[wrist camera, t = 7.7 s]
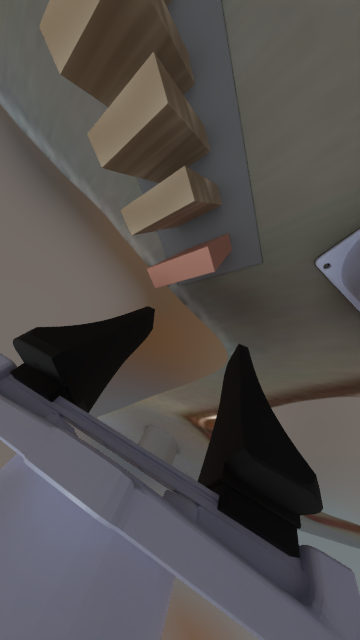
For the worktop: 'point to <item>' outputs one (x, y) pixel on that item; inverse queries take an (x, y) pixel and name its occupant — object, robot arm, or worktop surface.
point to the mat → (214, 141)
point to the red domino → (191, 262)
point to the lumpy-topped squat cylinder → (159, 443)
